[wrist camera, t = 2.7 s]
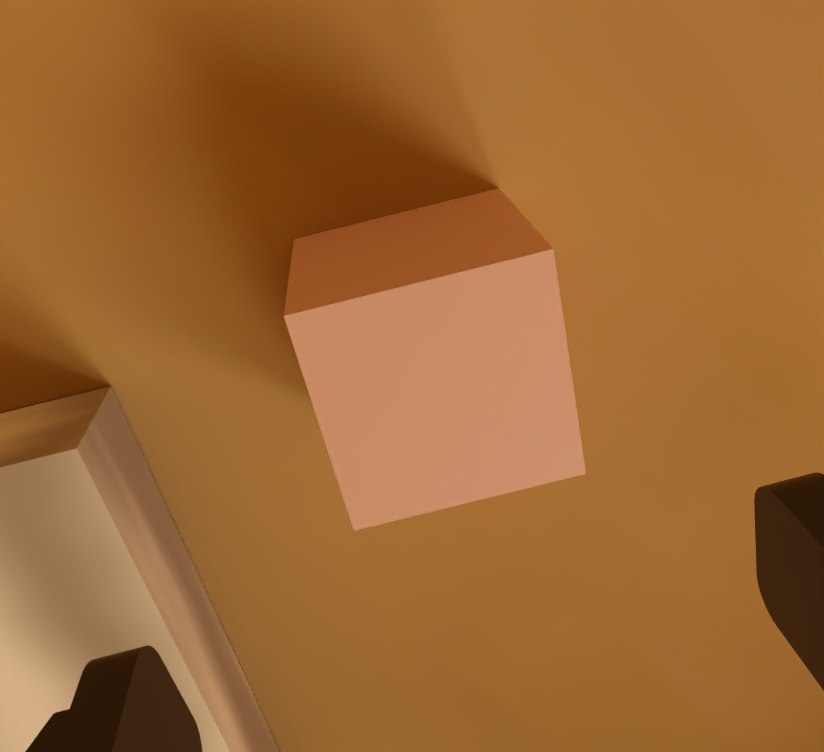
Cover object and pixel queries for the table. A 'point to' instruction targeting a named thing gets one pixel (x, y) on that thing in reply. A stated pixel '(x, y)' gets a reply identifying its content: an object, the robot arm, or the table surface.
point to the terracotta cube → (435, 357)
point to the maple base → (101, 576)
